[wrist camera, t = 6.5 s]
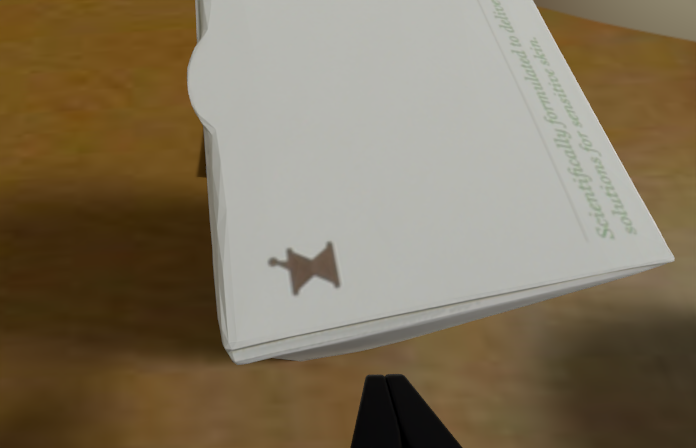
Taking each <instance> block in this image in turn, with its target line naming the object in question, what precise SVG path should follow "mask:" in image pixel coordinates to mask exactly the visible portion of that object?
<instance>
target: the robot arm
mask: <svg viewBox="0 0 696 448" xmlns="http://www.w3.org/2000/svg"><path fill="white" fill-rule="evenodd" d="M351 448H462V447H461V445H460V444H459V443H458V442H457V440H456V439H455V438H454V437H453V435H452V434H451V433H450V432H449V431H448V429H447V428H446V427H445V426H444V424H443V423H442V422H441V421H440V419H439V418H438V417H437V416H436V414H435V413H434V412H433V411H432V409H431V408H430V407H429V406H428V404H427V403H426V402H425V401H424V399H423V398H422V397H421V396H420V395H419V393H418V392H417V391H416V390H415V388H414V387H413V386H412V385H411V383H410V382H409V381H408V380H407V378H406V377H405V376H404V375H402V374H388V375H386V376H385V377H384V376H383V375H367V376H366V379H365V383H364V388H363V392H362V397H361V402H360V406H359V411H358V416H357V420H356V425H355V429H354V434H353V439H352V443H351Z"/></svg>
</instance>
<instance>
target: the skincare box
mask: <svg viewBox="0 0 696 448" xmlns="http://www.w3.org/2000/svg"><path fill="white" fill-rule="evenodd" d="M195 2H196V27H197V45H196V47H195V48H194V50H193V53H192V55H191V58H190V62H189V65H188V70H187V85H188V93H189V97H190V101H191V104H192V107H193V109H194V111H195V113H196V115H197V116H198V118H199V119H200V121H201V123H202V124H203V127H204V142H205V156H206V170H207V185H208V200H209V215H210V228H211V239H212V250H213V270H214V282H215V293H216V304H217V315H218V322H219V327H220V332H221V337H222V344H223V346H224V348H225V350H226V351H227V353H228V354H229V356H230V358H231V360H232V362H234V363H235V364H237V365H240V364H248V363H252V362H256V361H260V360H264V359H269V358H277V359H287V360H296V361H305V360H311V359H317V358H323V357H329V356H336V355H342V354H347V353H353V352H358V351H363V350H367V349H372V348H376V347H380V346H384V345H388V344H392V343H396V342H400V341H404V340H407V339H411V338H414V337H418V336H421V335H425V334H428V333H432V332H435V331H439V330H442V329H446V328H449V327H453V326H456V325H460V324H463V323H467V322H470V321H474V320H477V319H481V318H484V317H488V316H491V315H495V314H499V313H502V312H506V311H509V310H513V309H516V308H520V307H523V306H527V305H530V304H534V303H537V302H541V301H544V300H548V299H551V298H555V297H558V296H562V295H565V294H569V293H572V292H576V291H579V290H582V289H586V288H589V287H593V286H596V285H600V284H603V283H607V282H610V281H614V280H617V279H621V278H624V277H628V276H631V275H634V274H637V273H640V272H643V271H646V270H649V269H652V268H655V267H658V266H661V265H664V264H667V263H669V262H672V261H674V256H673V254H672V253H671V251H670V250H669V248H668V246H667V244H666V242H665V240H664V239H663V237H662V235H661V233H660V231H659V229H658V227H657V225H656V224H655V222H654V220H653V218H652V216H651V215H650V213H649V211H648V209H647V208H646V206H645V204H644V202H643V200H642V199H641V197H640V195H639V193H638V192H637V190H636V188H635V186H634V184H633V183H632V181H631V179H630V177H629V175H628V174H627V172H626V170H625V168H624V166H623V165H622V163H621V161H620V159H619V157H618V156H617V154H616V152H615V150H614V148H613V146H612V145H611V143H610V141H609V139H608V137H607V135H606V134H605V132H604V130H603V128H602V126H601V125H600V123H599V121H598V119H597V117H596V115H595V114H594V112H593V110H592V108H591V106H590V105H589V103H588V101H587V99H586V97H585V95H584V94H583V92H582V90H581V88H580V86H579V84H578V83H577V81H576V79H575V77H574V75H573V73H572V72H571V70H570V68H569V66H568V64H567V63H566V61H565V59H564V57H563V55H562V53H561V52H560V50H559V48H558V46H557V44H556V42H555V41H554V39H553V37H552V35H551V33H550V31H549V30H548V28H547V26H546V24H545V22H544V20H543V18H542V17H541V15H540V13H539V11H538V9H537V7H536V5H535V4H534V2H533V0H195Z"/></svg>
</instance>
